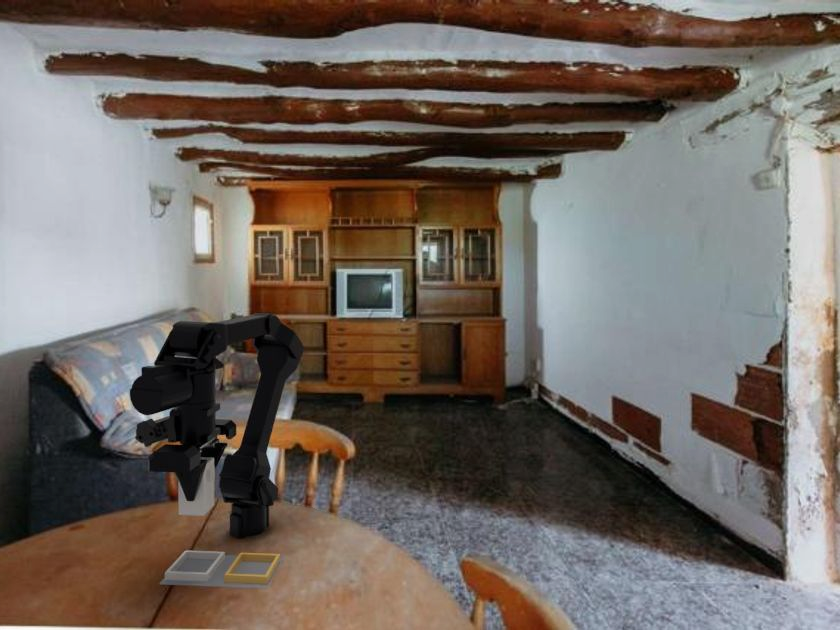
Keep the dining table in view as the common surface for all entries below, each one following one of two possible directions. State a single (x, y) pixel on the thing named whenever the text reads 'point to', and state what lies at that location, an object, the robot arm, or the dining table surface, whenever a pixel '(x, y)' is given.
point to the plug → (200, 493)
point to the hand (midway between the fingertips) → (196, 495)
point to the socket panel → (223, 569)
